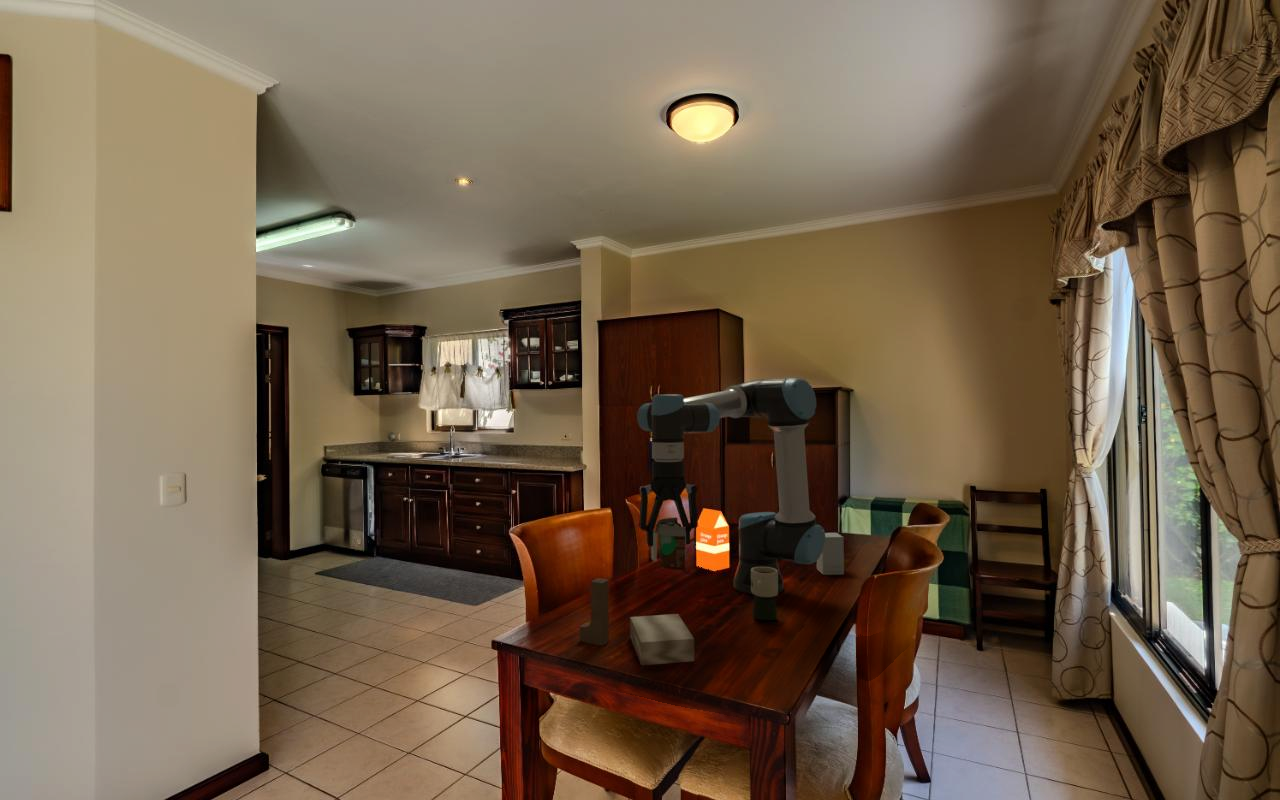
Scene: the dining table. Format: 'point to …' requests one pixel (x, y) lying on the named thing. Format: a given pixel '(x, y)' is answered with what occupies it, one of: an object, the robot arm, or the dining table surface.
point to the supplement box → (832, 555)
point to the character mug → (764, 592)
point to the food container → (671, 543)
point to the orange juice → (712, 540)
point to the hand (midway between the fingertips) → (668, 558)
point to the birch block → (661, 639)
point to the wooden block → (597, 615)
